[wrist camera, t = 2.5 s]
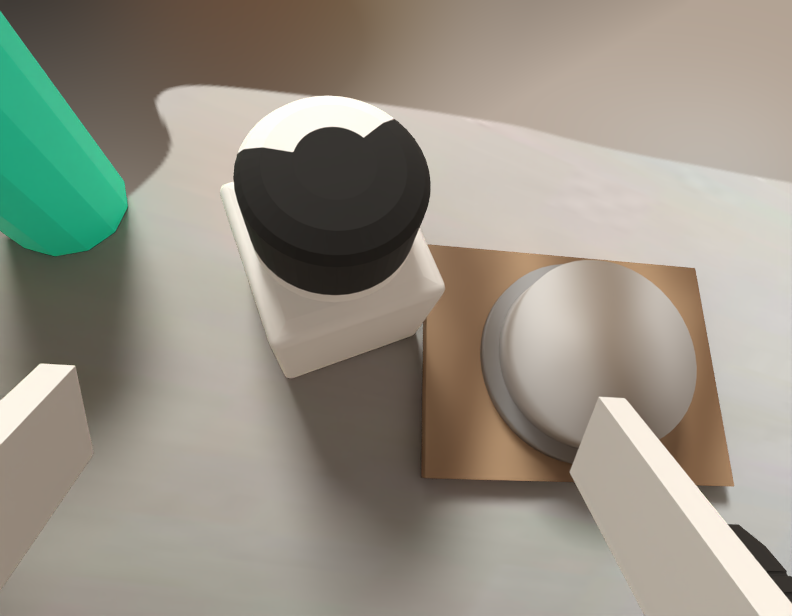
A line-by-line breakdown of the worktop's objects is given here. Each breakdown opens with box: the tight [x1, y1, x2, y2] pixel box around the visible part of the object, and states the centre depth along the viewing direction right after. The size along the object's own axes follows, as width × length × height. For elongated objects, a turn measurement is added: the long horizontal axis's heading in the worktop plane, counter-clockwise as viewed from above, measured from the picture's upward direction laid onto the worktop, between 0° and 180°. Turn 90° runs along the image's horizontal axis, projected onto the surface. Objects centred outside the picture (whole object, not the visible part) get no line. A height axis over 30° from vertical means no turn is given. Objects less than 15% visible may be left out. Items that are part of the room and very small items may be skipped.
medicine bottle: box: [220, 96, 445, 378], centre depth 20 cm, size 7×7×12 cm
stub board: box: [421, 245, 734, 486], centre depth 24 cm, size 16×12×4 cm
